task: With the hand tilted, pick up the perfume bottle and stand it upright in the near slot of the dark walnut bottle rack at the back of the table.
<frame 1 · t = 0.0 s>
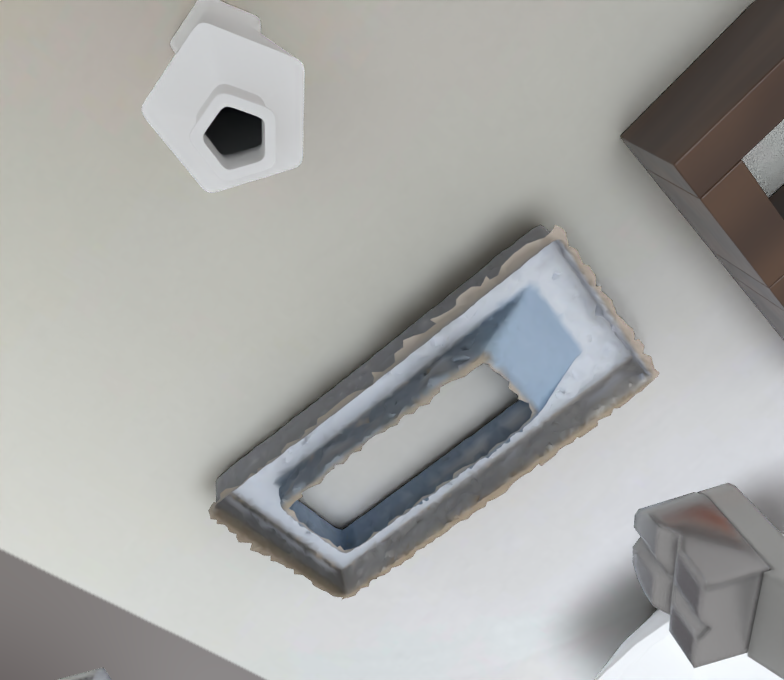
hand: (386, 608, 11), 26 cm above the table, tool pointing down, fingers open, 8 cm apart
bowl: (712, 598, 60), on the table
picture frame: (421, 412, 43), on the table
perfume bottle: (224, 43, 30), on the table
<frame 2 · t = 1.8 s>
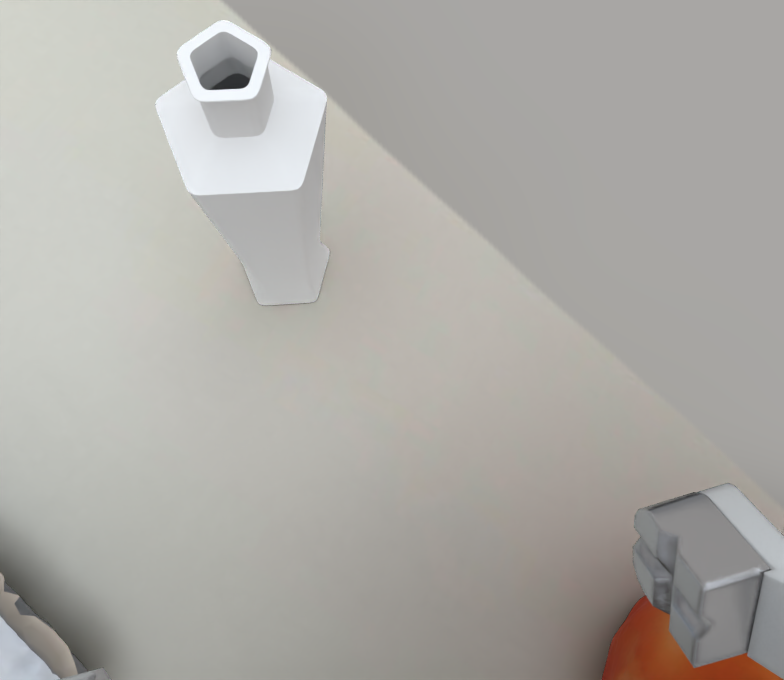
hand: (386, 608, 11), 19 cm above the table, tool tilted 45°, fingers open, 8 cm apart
perfume bottle: (289, 271, 31), on the table
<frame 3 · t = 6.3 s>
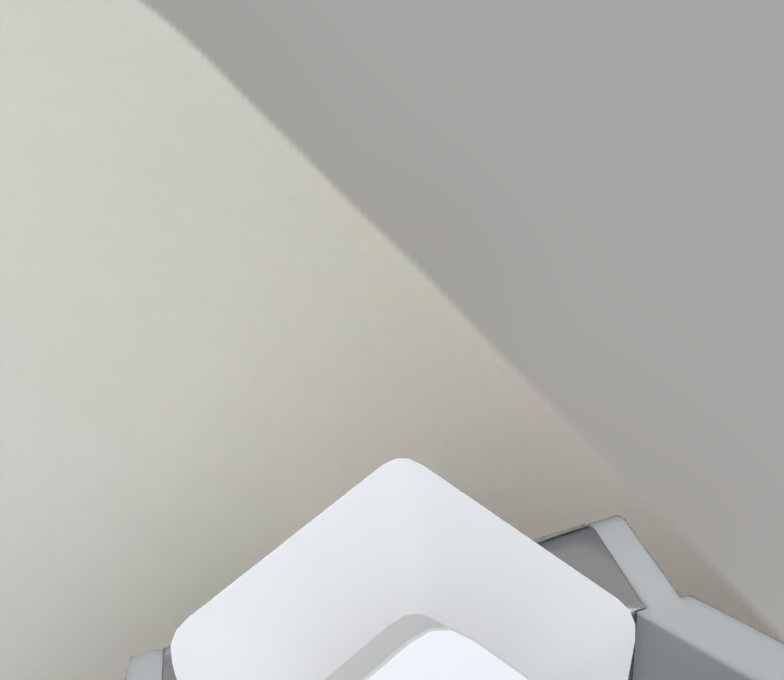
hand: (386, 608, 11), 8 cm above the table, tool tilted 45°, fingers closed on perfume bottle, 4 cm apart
perfume bottle: (375, 593, 19), on the table, touching gripper
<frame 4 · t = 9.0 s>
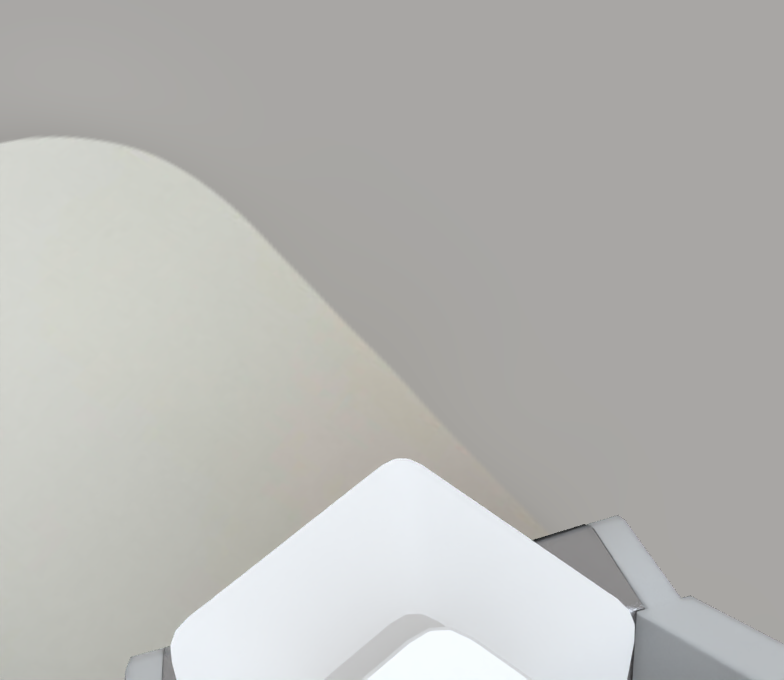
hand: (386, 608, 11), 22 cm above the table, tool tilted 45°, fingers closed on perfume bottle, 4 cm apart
perfume bottle: (374, 593, 19), point 13 cm above the table, touching gripper
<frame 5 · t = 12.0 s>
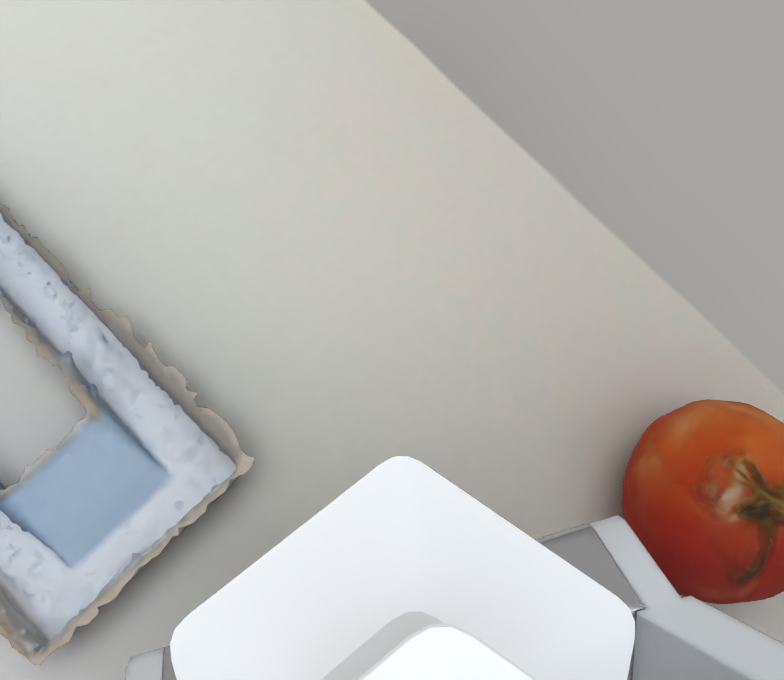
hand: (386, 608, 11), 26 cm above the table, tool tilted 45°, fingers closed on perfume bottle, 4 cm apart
tomato: (680, 500, 37), on the table
picture frame: (7, 380, 37), on the table
perfume bottle: (374, 592, 19), point 17 cm above the table, touching gripper
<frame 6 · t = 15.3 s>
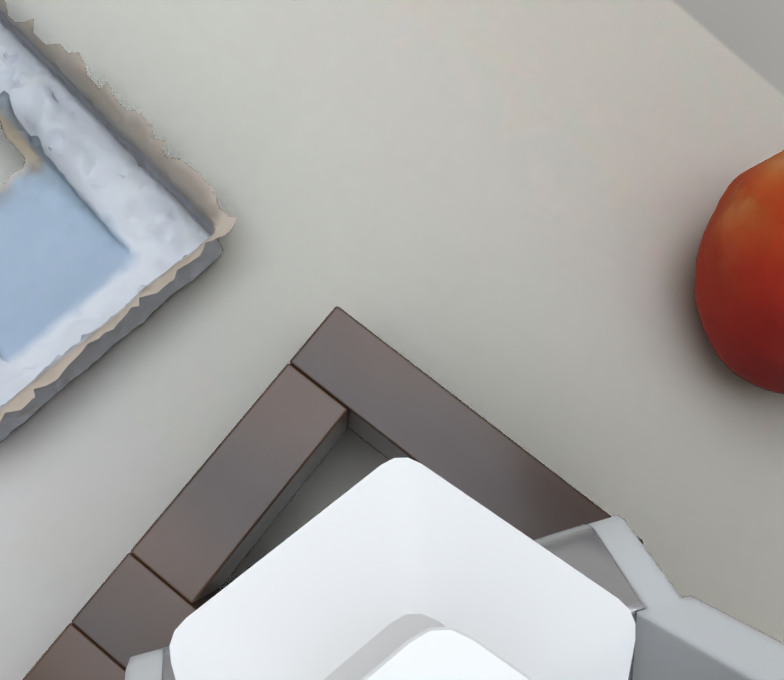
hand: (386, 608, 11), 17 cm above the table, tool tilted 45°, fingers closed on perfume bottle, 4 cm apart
tomato: (760, 301, 30), on the table
perfume bottle: (374, 592, 19), point 8 cm above the table, touching gripper
when the fingers open (8 cm above the table, at t = 18.0 s): perfume bottle stays where it is, resting in rack.
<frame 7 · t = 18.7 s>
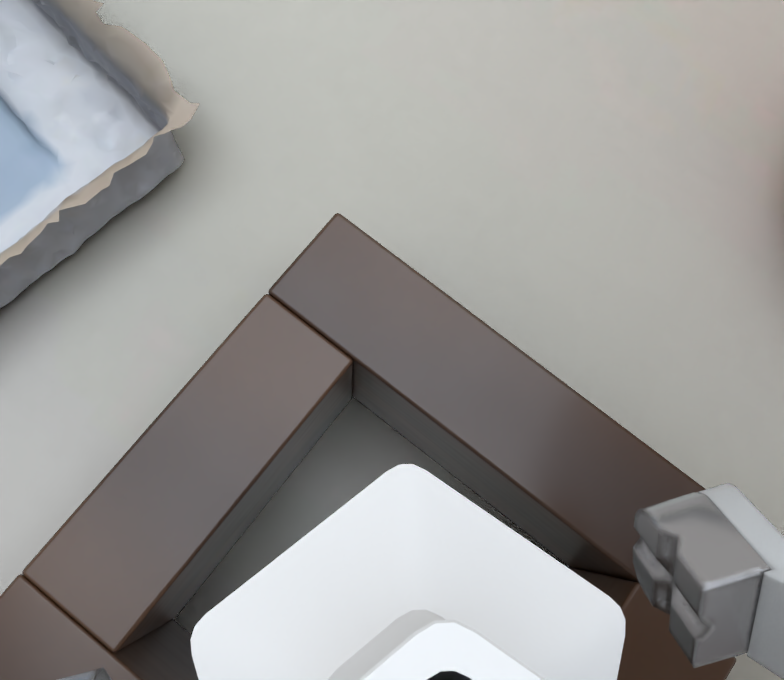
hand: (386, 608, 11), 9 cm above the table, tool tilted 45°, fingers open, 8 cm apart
perfume bottle: (377, 592, 19), resting in rack
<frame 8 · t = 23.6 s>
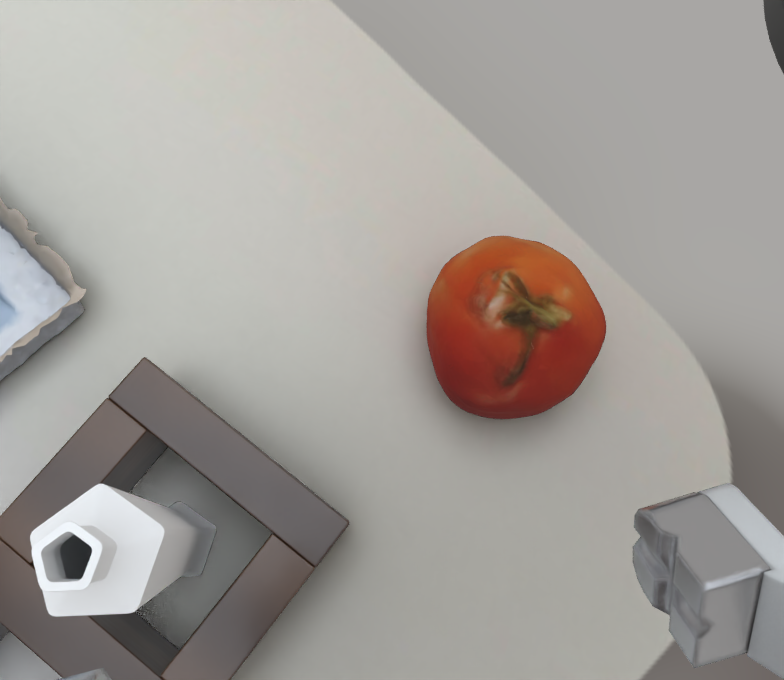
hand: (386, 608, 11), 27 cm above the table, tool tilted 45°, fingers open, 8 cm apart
rack: (110, 626, 36), on the table
tomato: (494, 345, 40), on the table
perfume bottle: (180, 544, 37), resting in rack
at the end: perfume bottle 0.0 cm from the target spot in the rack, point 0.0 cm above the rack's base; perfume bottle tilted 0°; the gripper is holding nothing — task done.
